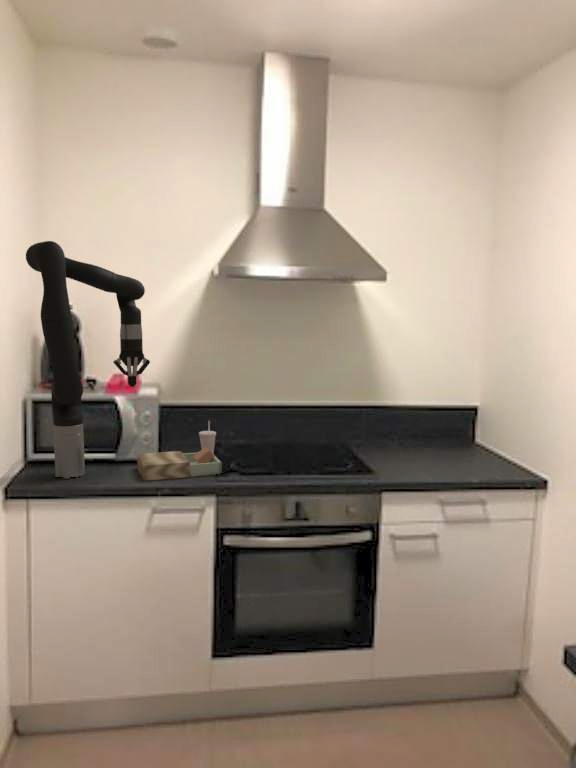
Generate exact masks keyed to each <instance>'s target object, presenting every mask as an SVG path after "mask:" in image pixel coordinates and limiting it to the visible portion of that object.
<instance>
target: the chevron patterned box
mask: <svg viewBox="0 0 576 768" xmlns="http://www.w3.org/2000/svg"><path fill="white" fill-rule="evenodd" d="M183 453H184V452H182V450H177V451H175V450H174V451H173V450H172V451H161V452H149V453H148V452H147V453H136V454H137V455H136V459H137V461H136V464H137V468H136V469H137V470H138V472H139V474H140V476H141V478H142V480H143V481H144V482H146V481H147V482H149V481H157V480H159V481H160V480H171V479H180V478H181V479H182V478H190V477H191V476H190V462H189V460H188V459H187V458H186V457H185V456H184V454H183Z"/></svg>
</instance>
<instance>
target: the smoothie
mask: <svg viewBox="0 0 576 768" xmlns="http://www.w3.org/2000/svg"><path fill="white" fill-rule="evenodd" d="M207 423H208V425H207V426H208V429H207V430H201V431H199V432H198V436H199V440H200V449H201V450H202V449H203V448H204V447H206V448H208V449H209V450H210V451H211V452H212V453H213V454H214V450H215V444H216V436H217V432H216V431H214V430H211V420H208V421H207ZM201 450H200V451H201Z"/></svg>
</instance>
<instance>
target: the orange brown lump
mask: <svg viewBox="0 0 576 768" xmlns="http://www.w3.org/2000/svg"><path fill="white" fill-rule="evenodd" d="M197 452H198V453H197ZM197 452H196V453H197V454H196V455H195V456H193V457H194V459H195V460H196V461H197V462H198V463H199V464H200V463H207V462H209V461H210V460H211V459H212V458H213V457H215V456H216V455H215V454H214V453H213V454H214V455H215V456H214V455H213V454H212V453H211V451H210V450H209V449H208V448H206V447H204V448H203V449H202V450H199V451H197Z"/></svg>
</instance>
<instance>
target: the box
mask: <svg viewBox="0 0 576 768" xmlns="http://www.w3.org/2000/svg"><path fill="white" fill-rule="evenodd" d="M198 452H199V451H197V452H187V453H185V452H182V453H183V454H184V456H185V457H186V458H187V459H188V460H189V462H190V477H191V478H193V477H194V478H195V477H203V476H204V477H205V476H217V475H216V474H218V475H221V474H220V473H223V472H222V470H223V468H222V467H223V466H222V465H223V462H222V461H221V460H220V459H219V458H218V457H217V456H216V455H215V453H214V452H213V453H212V452H211V453H212V454H213V455H214V456H215V457H213V458H212V459H211V460H210V461H209V462H207V463H200V464H199V463H198V462H197V461H196V460H195V459H194V457H193V456H195V455H196V454H197V453H198Z"/></svg>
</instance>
